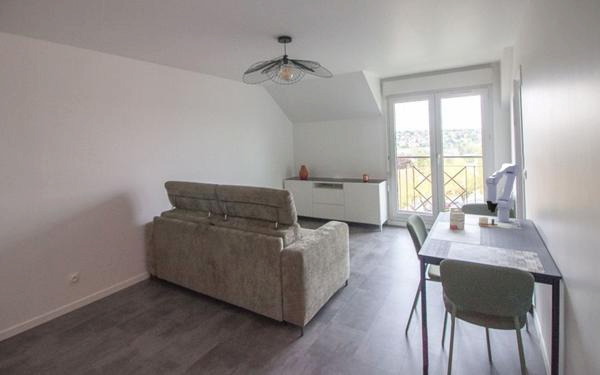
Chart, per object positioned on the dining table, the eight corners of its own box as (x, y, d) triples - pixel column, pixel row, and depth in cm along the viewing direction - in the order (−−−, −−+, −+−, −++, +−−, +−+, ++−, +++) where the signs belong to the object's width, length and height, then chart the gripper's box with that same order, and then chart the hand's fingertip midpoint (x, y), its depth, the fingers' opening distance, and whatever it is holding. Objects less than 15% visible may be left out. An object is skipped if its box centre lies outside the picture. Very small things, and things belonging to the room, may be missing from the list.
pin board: (477, 223, 243) (477, 217, 243) (495, 224, 239) (496, 217, 239) (480, 227, 234) (480, 220, 233) (499, 227, 230) (499, 220, 229)
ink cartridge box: (452, 229, 230) (452, 209, 229) (449, 227, 235) (449, 207, 233) (464, 229, 230) (465, 209, 228) (461, 227, 234) (462, 207, 233)
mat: (495, 223, 242) (495, 222, 242) (509, 223, 239) (509, 223, 239) (498, 226, 234) (498, 225, 234) (513, 226, 231) (513, 226, 231)
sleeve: (483, 222, 241) (483, 216, 240) (489, 224, 235) (489, 217, 235) (477, 223, 240) (477, 216, 239) (483, 225, 234) (483, 218, 234)
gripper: (483, 191, 246) (483, 209, 247) (487, 194, 232) (487, 213, 234) (494, 191, 243) (493, 209, 245) (499, 194, 230) (498, 213, 232)
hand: (491, 211), depth 239 cm, fingers open, 7 cm apart
